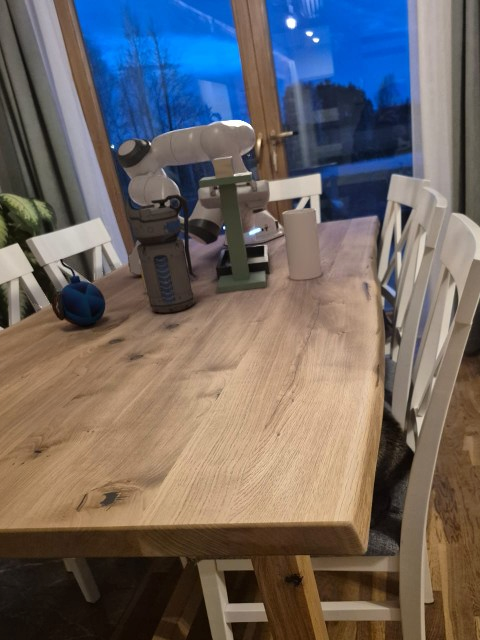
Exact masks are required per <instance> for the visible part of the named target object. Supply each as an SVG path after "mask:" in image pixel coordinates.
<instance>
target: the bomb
mask: <svg viewBox="0 0 480 640" xmlns="http://www.w3.org/2000/svg"><path fill="white" fill-rule="evenodd" d="M59 261H60V264H61V265H62V267H64V268H66V269H68V270H70V272H71V273H72V275H71V276H70V277H69V281H70V283H68V284H66V285H65V286H63V288H62V289H61V290H58V291H56V293H54V294H53V295H52V297H51V301H50V302H51V308H52V312H53V313H54V315H55V317H56V318H57V319H58V320H60V321H66V322H68V323H70V324H72V325H74V326H77V327H89V326H91V325H94V324H95V323H98V322H99V321H100V320H101V319H102V317H103V316H104V313H105V311H106V299H105V296H104V294H103V292H102V291H101V289H100V288H99V287H97V285H95V284H93V283H92V282H89V281H85V280H81V277H80V276H79V275H76V272H75V270H74V269H73V268H72V267H71V266H69V265H67V264H65V263H64V260H63V258H61V259H59Z"/></svg>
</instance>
